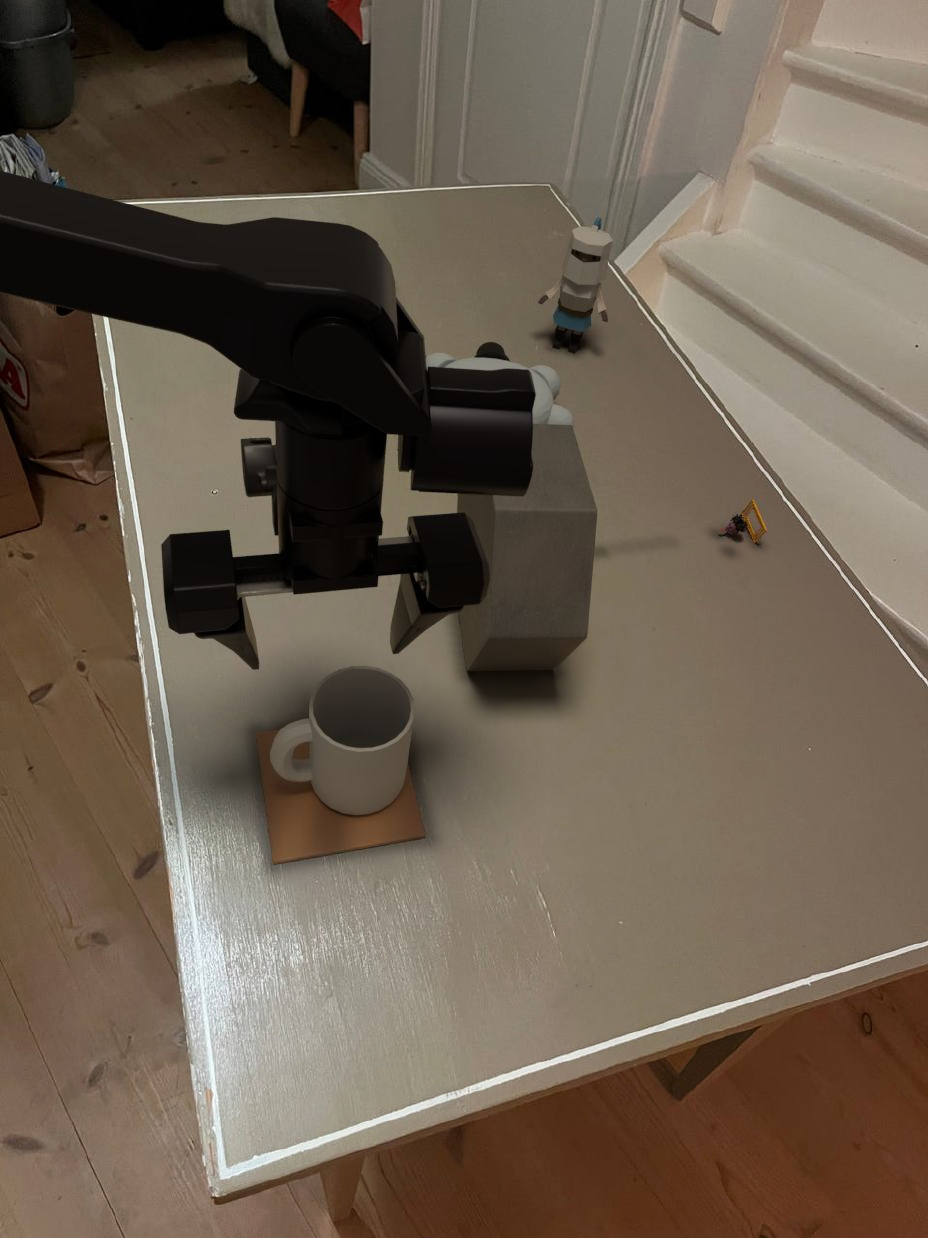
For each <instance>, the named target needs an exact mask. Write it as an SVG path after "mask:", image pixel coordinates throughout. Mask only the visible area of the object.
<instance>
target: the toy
mask: <svg viewBox="0 0 928 1238" xmlns="http://www.w3.org/2000/svg"><path fill="white" fill-rule="evenodd" d="M602 218H603V217H599V216H597V217H596V219H594V221H593V224H592V225H591V227H590V226H584V225H583V226H577V227H576V228H572V229H571V232H570V237H569V241H568V246H567V247H566V251H565V254H564V258H563V260H562V263H561V267H560V268H561V270H562V275H561V276H560V278H559V279H558V281H557V282H556V283H555V284H554V286H553V287H551V288H550V289H549V290H547V291H545V293H544V294H543V295H542V296H541V297H540V299H538V302H537V304H539V305H543V304H544V303H545V302H546V301H547V300H549V301H551V299H552V298H553V297H554V295H556V293H557V291H558V290H559V289H560V290H559V298H558V300H557V306H556V309H555V311H554V313H553V315H552V318H553V323H554V325H556V327H555V332H554V337H553V341H552V348H554V349H556V350H557V349H558V350H560V349H561V348H562V346H563V345H564V342H565V337H566V335H567V331H568V330H572V331H571V333H570V339H569V343H568V347H567V348H568V349H567V352H569V353H572V354H575V353H576V352H577V351H578V350H579V347H580V343H581V340H582V337H583V335H584V332H585V331H586V330H588V329H590V328H591V327H592V314H593V312H594V306H595V303H596V302H597V313H598V314H599V315H600V317H601V320H602V322H605V323H608V322H609V317H608V313H607V311H608V309H607V307H606V304H605V301H604V298H603V296H604V295H603V290H602V289H603V288H602V282H603V281H604V280H606V279H607V273H608V265H609V259H610V255H611V250H612V245H613V238H612V237H611V235H610V233H608V232H606V231H604V230H601V229H602Z"/></svg>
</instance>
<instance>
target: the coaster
mask: <svg viewBox="0 0 928 1238" xmlns="http://www.w3.org/2000/svg"><path fill="white" fill-rule="evenodd" d="M281 729H282V728H280V729H272V730H266V731H265V730H264V731H258V732H257V731H256V732H255V738H256V746H257V752H258V761H259V769H260V775H261V777H260V778H261V784H262V791H263V798H264V805H265V806H264V807H265V813H266V820H267V829H268V835H269V836H268V837H269V843H270V844H269V845H270V851H271V858H272V865H276V864H277V865H278V864H284V863H290V862H295V861H300V860H306V859H311V858H317V857H324V856H329V855H335V854H341V853H345V852H352V851H357V850H362V849H368V848H375V847H379V846H385V845H392V844H396V843H403V842H408V841H409V842H410V841H413V840H414V841H415V840H421V839H425V838H426V830H425V828H424V827H425V826H424V822H423V819H422V814H421V810H420V807H419V802H418V798H417V795H416V791H415V787H414V782H413V780H412V775H411V771H410V766H409V763H407V770H406V775H405V781H404V785H403V787H402V789H401V791H400V793H399V795H398V796H397V797H396V798H395V799H394V800H393V802H392V803H391V804H389V805H388V806H386V807H385V808H383V809H381V810H380V811H376V812H373V813H370V814H364V815H351V814H345V813H341V812H339V811H336V810H334V809H332V808H330V807H329V806H327V805H326V804H325V803H324V802H322V801H321V800H320V798H319V797H318V796H317V794H316V793H315V792H314V789H313V786H312V783H311V781H307V782H292V781H289V780H286V779H284V778H282V777H281V776H280V775H279V774H278V773H277V772H276V770H275V769H274V768H273V765H272V763H271V761H270V751H271V748H272V744H273V741H274V738H275V736H276V735H277V734H278V732H279V731H280V730H281ZM309 756H310V751H309V742H305V743H302V744H300V745H298V746H297V747H296V748H295V749H294V751H293V757H294V758H295V759H297V760H306V759H309Z"/></svg>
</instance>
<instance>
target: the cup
mask: <svg viewBox="0 0 928 1238" xmlns="http://www.w3.org/2000/svg"><path fill="white" fill-rule="evenodd" d="M415 711H416V709H415V701H414V697H413V696H412V693H411V690H410V689H409V687H408V686H407V685H406V684H405V682H403V680H401V678H399V677H397V676H396V675H395V674H393V673H392V672H390V671H387V670H384V669H382V668H380V667H376V666H369V665H350V666H347V667H342V668H339V669H337V670H335V671H333V672H332V673H329V674H327V675H326V676H325V677H324V678H322V679H321V681H319V682H318V683H317V685H316V686H315V688H314V689H313V691H312V692H311V696H310V700H309V703H308V718H301V719H298V720H295V721H293V722H290V723H288V724H287V725H285V726H284V727H282V728H280V729H281V730H280V731H279V732H278V734H277V735H276V736H275V738H274V741H273V744H272V748H271V751H270V761H271V763H272V765H273V768H274V769H275V770H276V772H277V773H278V774H279V775H280V776H281V777H282V778H284V779H286V780H289V781H292V782H307V781H311V783H312V786H313V789H314V792H315V793H316V794H317V796H318V797H319V798H320V800H321V801H322V802H324V803H325V804H326V805H327V806H329V807H330V808H332V809H334V810H336V811H339V812H341V813H345V814H351V815H364V814H370V813H373V812H376V811H380V810H381V809H383V808H385V807H386V806H388V805H389V804H391V803H392V802H393V800H394V799H395V798H396V797H397V796H398V795H399V793H400V791H401V789H402V787H403V785H404V781H405V775H406V770H407V763H408V762H409V756H410V755H409V754H410V747H411V742H412V741H411V740H412V733H413V727H414V726H413V725H414V719H415ZM305 742H309V751H310V756H309V759H306V760H297V759H295V758H294V757H293V751H294V749H295V748H296V747H297V746H298V745H300V744H302V743H305ZM408 764H409V763H408Z"/></svg>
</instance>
